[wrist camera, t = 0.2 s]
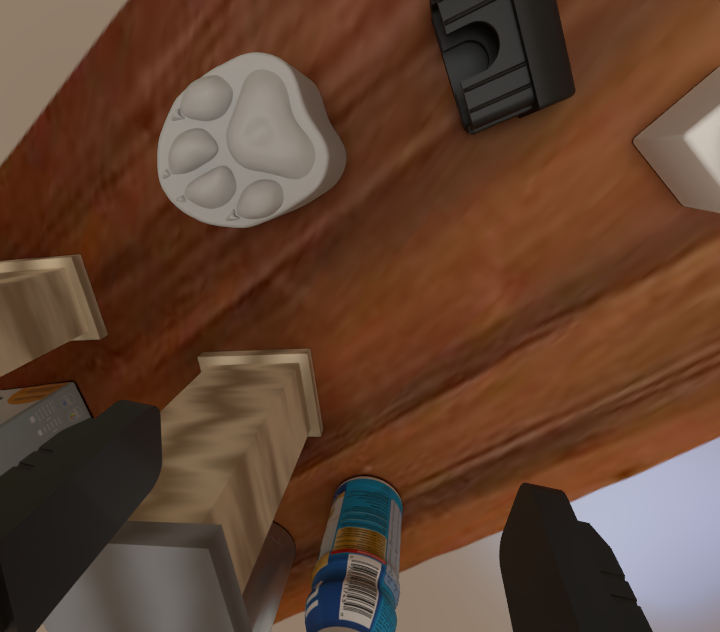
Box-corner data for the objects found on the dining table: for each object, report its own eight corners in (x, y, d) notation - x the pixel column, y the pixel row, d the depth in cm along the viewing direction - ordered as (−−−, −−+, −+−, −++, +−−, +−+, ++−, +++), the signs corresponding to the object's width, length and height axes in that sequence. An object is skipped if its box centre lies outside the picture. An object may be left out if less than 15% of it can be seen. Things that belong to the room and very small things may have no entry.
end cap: (557, 102, 32) (591, 88, 25) (467, 140, 33) (477, 136, 27) (523, -45, 29) (552, -101, 23) (427, 6, 31) (428, -34, 24)
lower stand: (314, 348, 42) (206, 541, 21) (327, 429, 46) (245, 667, 24) (198, 352, 44) (-8, 531, 23) (219, 429, 48) (56, 647, 26)
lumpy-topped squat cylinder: (358, 177, 36) (340, 183, 28) (237, 239, 39) (190, 259, 31) (302, 54, 33) (264, 20, 25) (178, 132, 36) (109, 124, 28)
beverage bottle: (418, 513, 48) (415, 735, 29) (360, 537, 51) (324, 754, 32) (377, 461, 46) (347, 664, 28) (319, 489, 49) (256, 690, 30)
